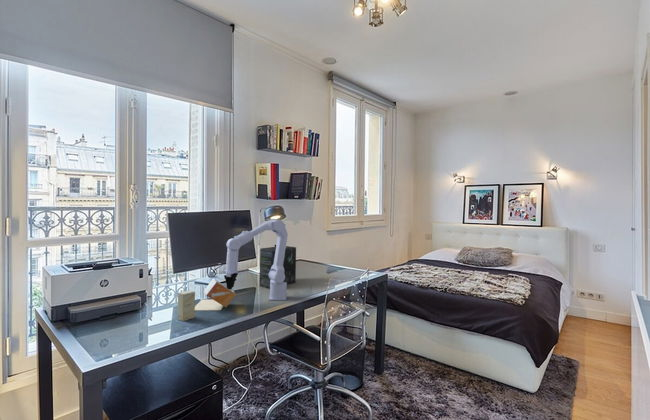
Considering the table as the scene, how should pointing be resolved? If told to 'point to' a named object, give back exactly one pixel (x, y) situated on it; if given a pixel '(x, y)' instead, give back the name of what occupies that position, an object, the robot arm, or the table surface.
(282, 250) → the robot arm
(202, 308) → the mat
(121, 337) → the table surface
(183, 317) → the skincare box
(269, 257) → the headset box
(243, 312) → the table surface
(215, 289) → the small box
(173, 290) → the table surface
